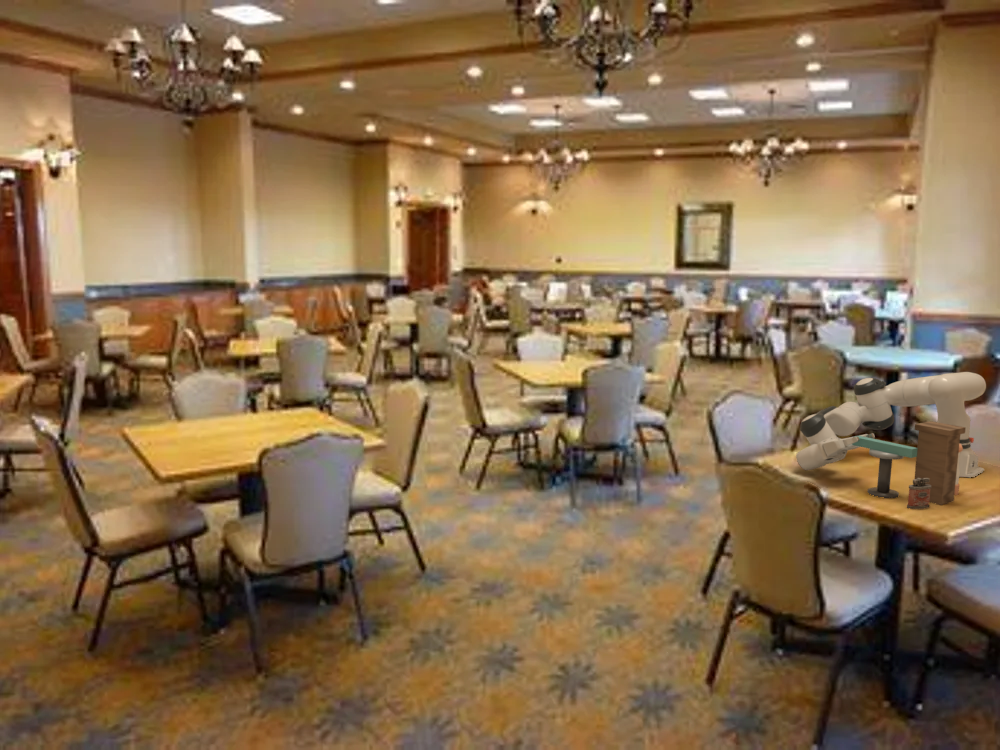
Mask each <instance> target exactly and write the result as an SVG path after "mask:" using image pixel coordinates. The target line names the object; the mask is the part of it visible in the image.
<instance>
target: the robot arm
mask: <svg viewBox="0 0 1000 750" xmlns="http://www.w3.org/2000/svg"><path fill="white" fill-rule="evenodd" d="M986 390H987V383H986V380H985V379H984V377H983V376H982V375H980V374H978V373H975V372H970V371H960V372H950V373H942V374H939V375H930V376H929V375H928V376H921V377H914V378H913V377H912V378H907V379H902V380H898V381H895V382H892V383H889V384H888V385H887V382H886V381H884V380H880V379H878V378H876V377H866V378H862V379H860V380H859V381H857V382H855V384H854V385H853V392H854V395H855V397H856V400H857V402H855V401H846V402H844V403H842V404H840V405H839V406H834V405H831V406H828V407H825V408H824V409H821V410H820V411H818V412H816V413H814V414H811V415H810V414H809V415H807V416H806V417H805V418H803V419H802V420H801V422H800V425H799V426H800V427H799V431H800V432H801V433H802V435H803V437H805V438H806V439H807V441H808V442H809V446H806V447H804V448H803V449H801V450H799V451H798V452H797V453H796V454H795V459H796V461H797V463H798V466H799V467H801V469H803V470H804V471H812V470H816V469H820V468H822V467H824V466H826V465H829V464H832V463H833V464H834V463H835V462H838V461H841V460H844V459H845V458H846V455H847V453H848V451H851V450H855V449H858V448H860V447H859V446H855V445H852V444H853V443H855V442H858V441H860V440H859V437H858V436H863V437H867V438H872V439H875V438H876V437H875V433H873V432H872V433H869V434H868V433H865V434H859V435H856V436H857V437H854V436H851V435H853V433H855V432H856V431H857V430H858V429H859V427H860V425H861V424H862V426H863V427H865V428H866V427H867V428H868V429H871V430H875V431H880V430H885V429H887V428H888V429H889V427H891V426H892V425H893V424H894V422H895V415H894V413H893V411H892V407H891V406H893V407H895V406H896V407H916V406H917V407H918V406H928V405H929V406H930V405H935V408H936V412H937V422H938V423H944V424H949V425H955V426H960V427H966V428H965V433H964V434H960V443H959V444H961V445H962V447H963V450H962V451H961V452H960V455H959V478H960V477H961V478H964V477H965V478H971V477H974V478H976V477H977V476H979V475H980V473H981V474H982V473H984V472H985V468H983V467H981V466H979V456H978V454H976V453H975V451H974V450H973V449H972V448H971V447H972V446H971V445H972V443H974V442H975V441H974V440H975V438H974V437H970V427H971V420H972V419H971V417H970V415H969V414H968V413H967V411H966V406H965V402H966V401H967V402H968V401H972V400H975V399H977V398H980V396H982V395H983V394H984V393H985V392H986ZM838 436H840V437H845V438H840V437H838ZM847 436H850V437H847ZM983 471H984V472H983ZM978 474H979V475H978ZM975 476H976V477H975Z"/></svg>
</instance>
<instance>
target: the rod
mask: <svg viewBox="0 0 1000 750" xmlns="http://www.w3.org/2000/svg"><path fill="white" fill-rule="evenodd" d="M857 436H858V437H859V440H860V441H858V442H855V443H853V444H852V445H855V446H859V448H865V449H873V450H878V451H882V452H886V453H891V454H895V455H900V456H904V457H905V458H909V459H913V458H916V457H917V450H918V448H917V447H914V446H910V445H905V444H899V443H897V442H896V443H895V442H891V441H887V440H886V441H885V440H881V439H877V438H876V439H875V438H873V439H872V438H867V437H863V436H859V435H855V436H853V437H857Z"/></svg>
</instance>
